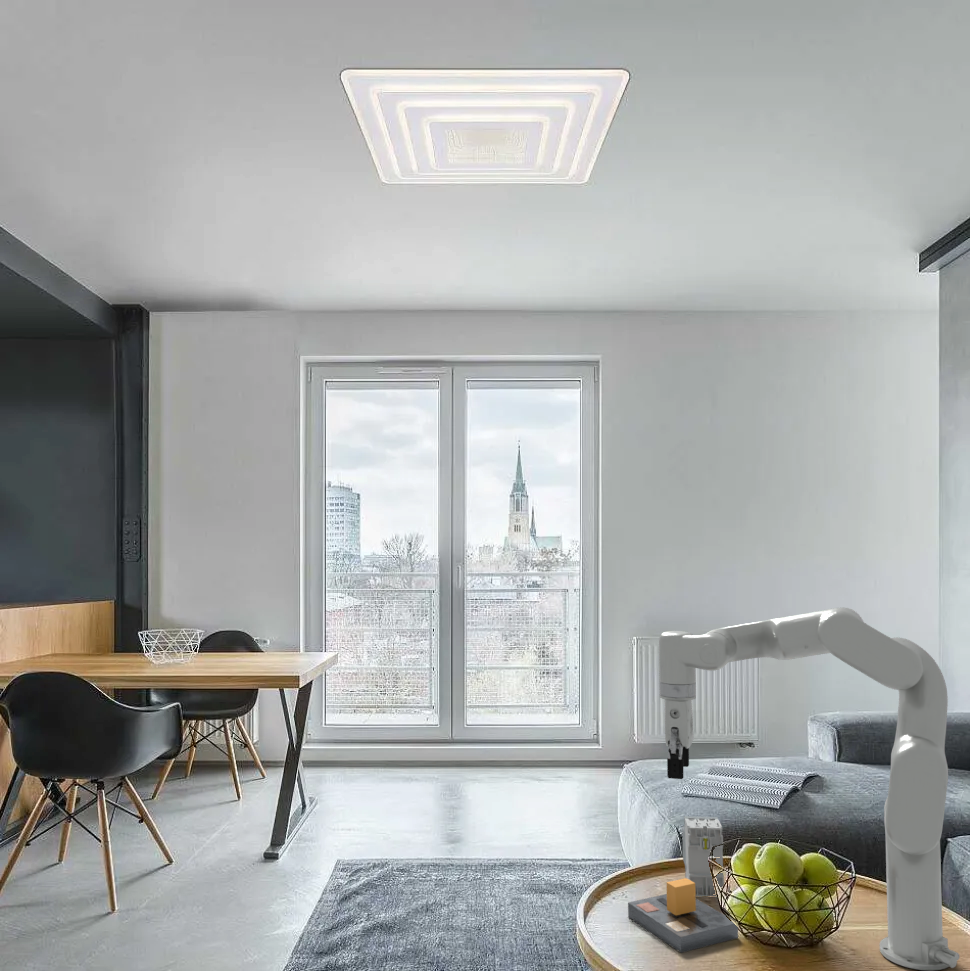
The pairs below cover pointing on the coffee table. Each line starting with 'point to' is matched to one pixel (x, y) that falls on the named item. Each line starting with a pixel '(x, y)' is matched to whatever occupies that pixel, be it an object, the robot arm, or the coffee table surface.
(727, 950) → the coffee table surface
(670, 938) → the panel
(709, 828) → the circuit breaker
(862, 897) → the coffee table surface
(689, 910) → the block
